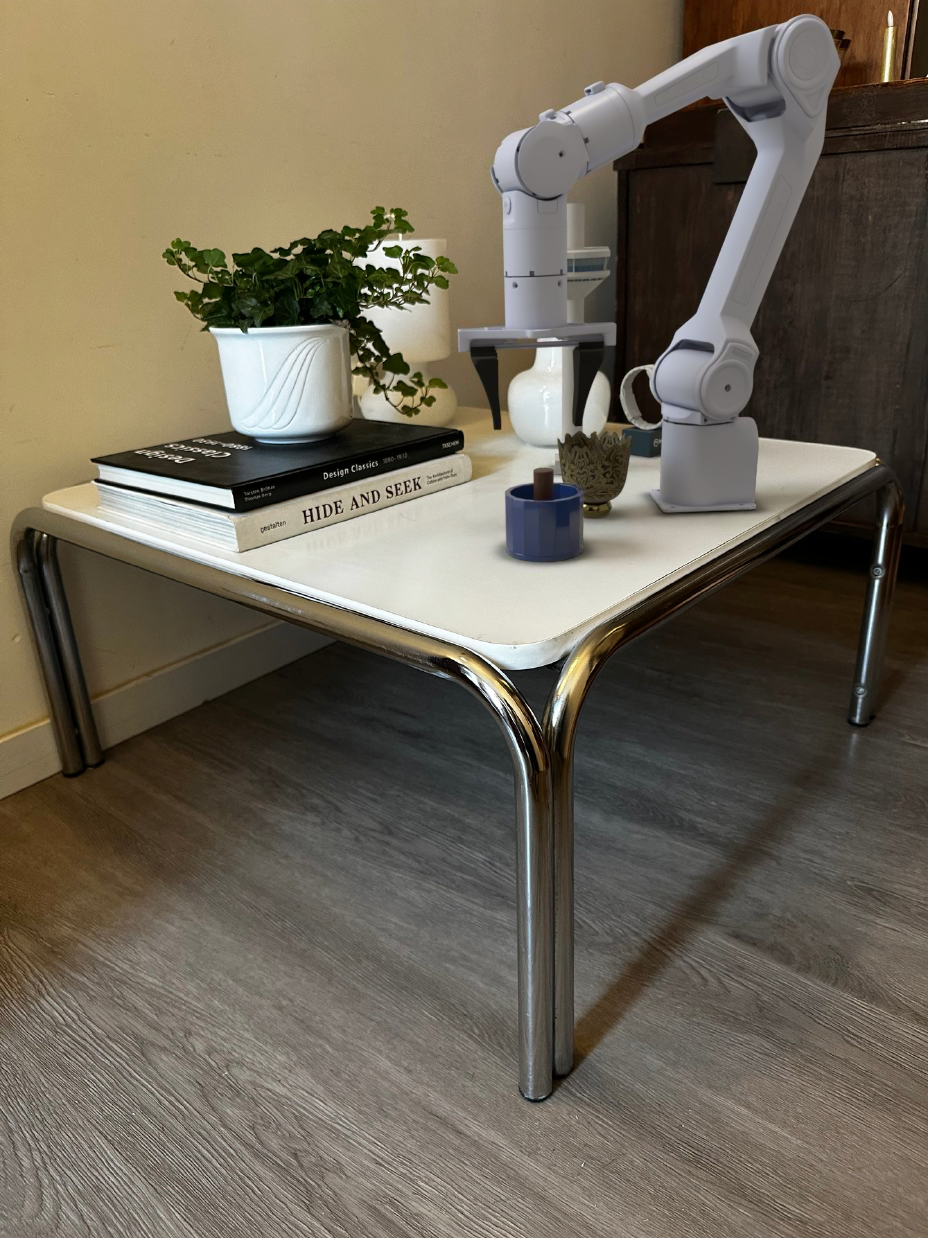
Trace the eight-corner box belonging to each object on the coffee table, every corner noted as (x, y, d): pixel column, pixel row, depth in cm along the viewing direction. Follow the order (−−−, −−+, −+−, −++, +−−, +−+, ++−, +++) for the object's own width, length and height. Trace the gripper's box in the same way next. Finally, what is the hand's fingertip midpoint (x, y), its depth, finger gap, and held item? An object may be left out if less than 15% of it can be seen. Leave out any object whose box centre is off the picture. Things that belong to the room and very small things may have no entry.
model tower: (604, 462, 117) (609, 202, 106) (608, 477, 110) (613, 200, 99) (538, 463, 118) (536, 206, 107) (537, 478, 111) (535, 203, 99)
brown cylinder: (551, 540, 86) (550, 466, 84) (556, 546, 84) (555, 470, 82) (532, 542, 86) (531, 468, 83) (536, 548, 84) (536, 472, 82)
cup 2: (612, 528, 91) (613, 447, 88) (545, 519, 94) (544, 441, 91) (641, 509, 97) (643, 432, 94) (576, 502, 100) (577, 427, 97)
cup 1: (577, 537, 89) (578, 480, 87) (587, 560, 82) (587, 499, 80) (504, 539, 89) (503, 483, 87) (508, 563, 82) (506, 503, 80)
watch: (662, 459, 118) (666, 370, 114) (610, 451, 123) (612, 366, 119) (686, 451, 121) (690, 364, 117) (634, 444, 127) (637, 361, 123)
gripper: (455, 280, 80) (462, 437, 85) (623, 273, 80) (619, 430, 85) (455, 277, 87) (461, 423, 92) (610, 271, 87) (607, 417, 92)
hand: (537, 426), depth 89 cm, fingers open, 7 cm apart
